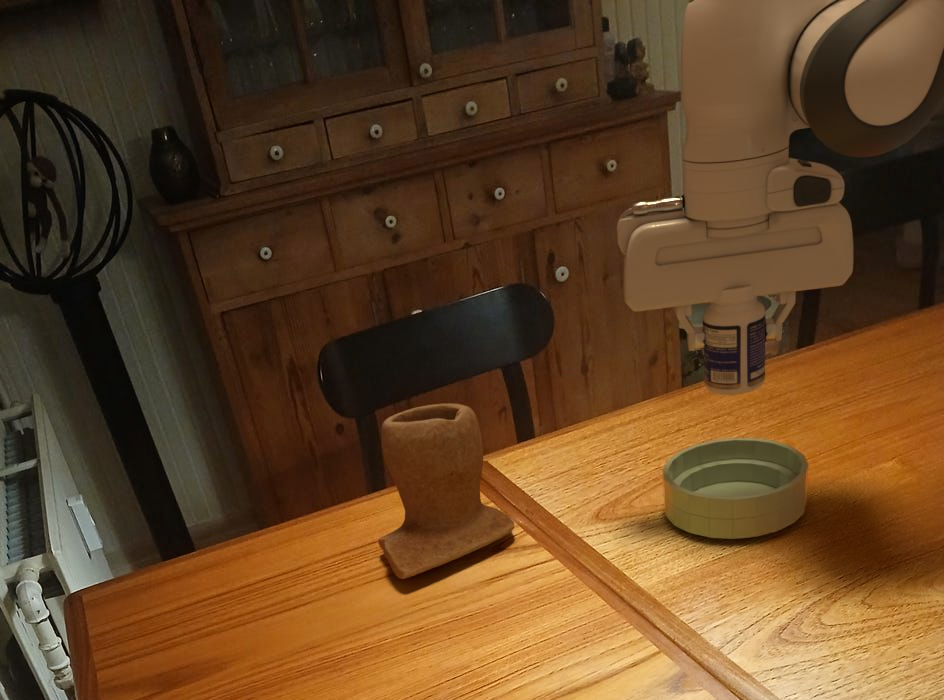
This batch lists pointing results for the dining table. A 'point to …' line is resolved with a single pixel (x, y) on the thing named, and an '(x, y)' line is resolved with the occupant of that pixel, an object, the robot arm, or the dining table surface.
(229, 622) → the dining table surface
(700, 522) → the bowl
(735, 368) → the pill bottle
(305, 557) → the dining table surface
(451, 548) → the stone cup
